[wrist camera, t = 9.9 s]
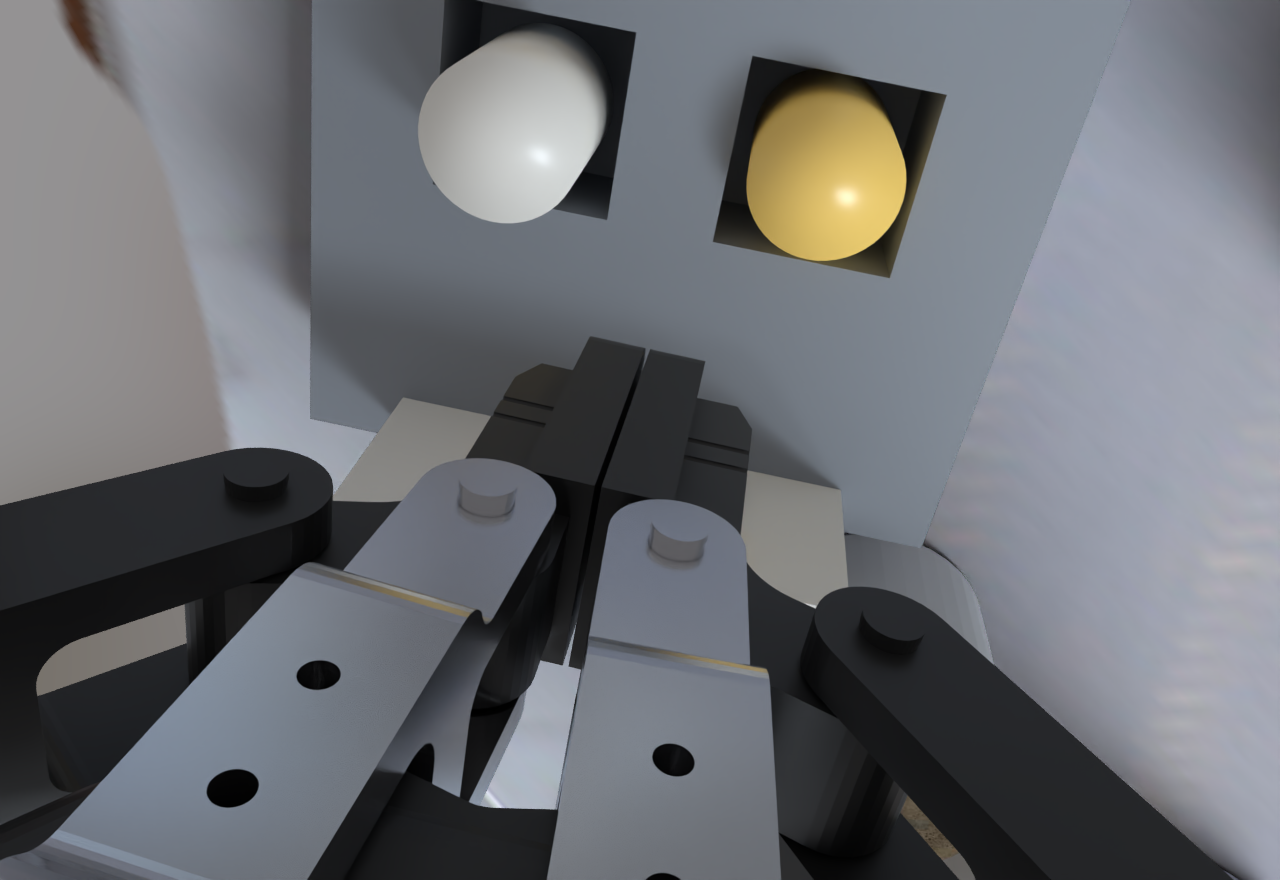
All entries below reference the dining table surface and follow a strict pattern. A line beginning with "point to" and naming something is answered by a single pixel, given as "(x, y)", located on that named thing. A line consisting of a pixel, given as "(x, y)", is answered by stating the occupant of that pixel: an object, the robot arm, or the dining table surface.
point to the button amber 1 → (824, 166)
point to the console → (699, 242)
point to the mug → (944, 595)
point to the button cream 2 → (516, 122)
